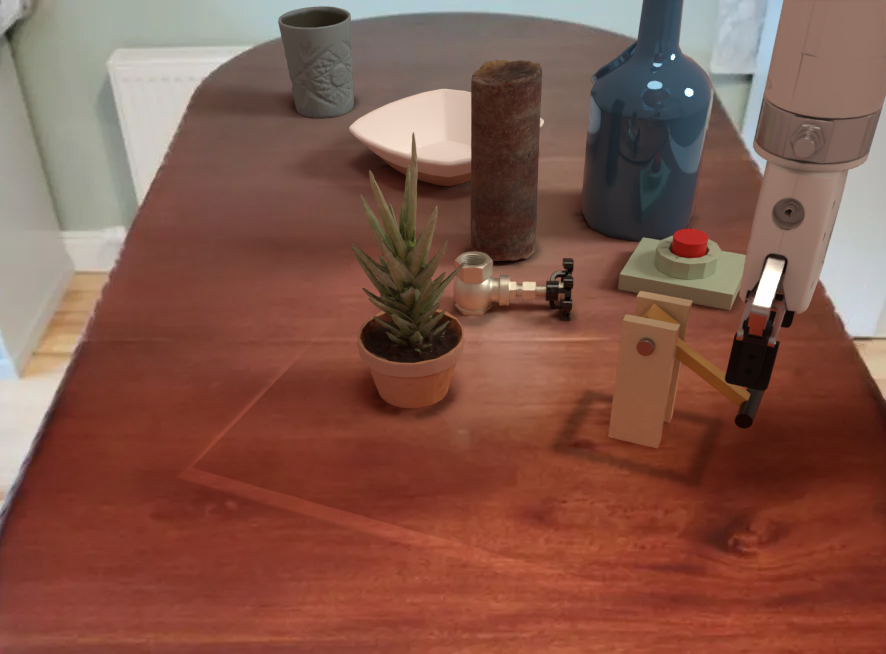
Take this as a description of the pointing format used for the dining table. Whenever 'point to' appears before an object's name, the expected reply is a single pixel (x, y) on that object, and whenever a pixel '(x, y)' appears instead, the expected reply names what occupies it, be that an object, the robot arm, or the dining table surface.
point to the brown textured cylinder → (505, 158)
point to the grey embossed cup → (319, 59)
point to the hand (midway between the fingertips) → (758, 352)
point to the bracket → (648, 370)
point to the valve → (505, 286)
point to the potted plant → (407, 306)
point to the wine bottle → (646, 133)
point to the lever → (713, 375)
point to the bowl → (423, 135)
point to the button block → (684, 273)
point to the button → (689, 243)
